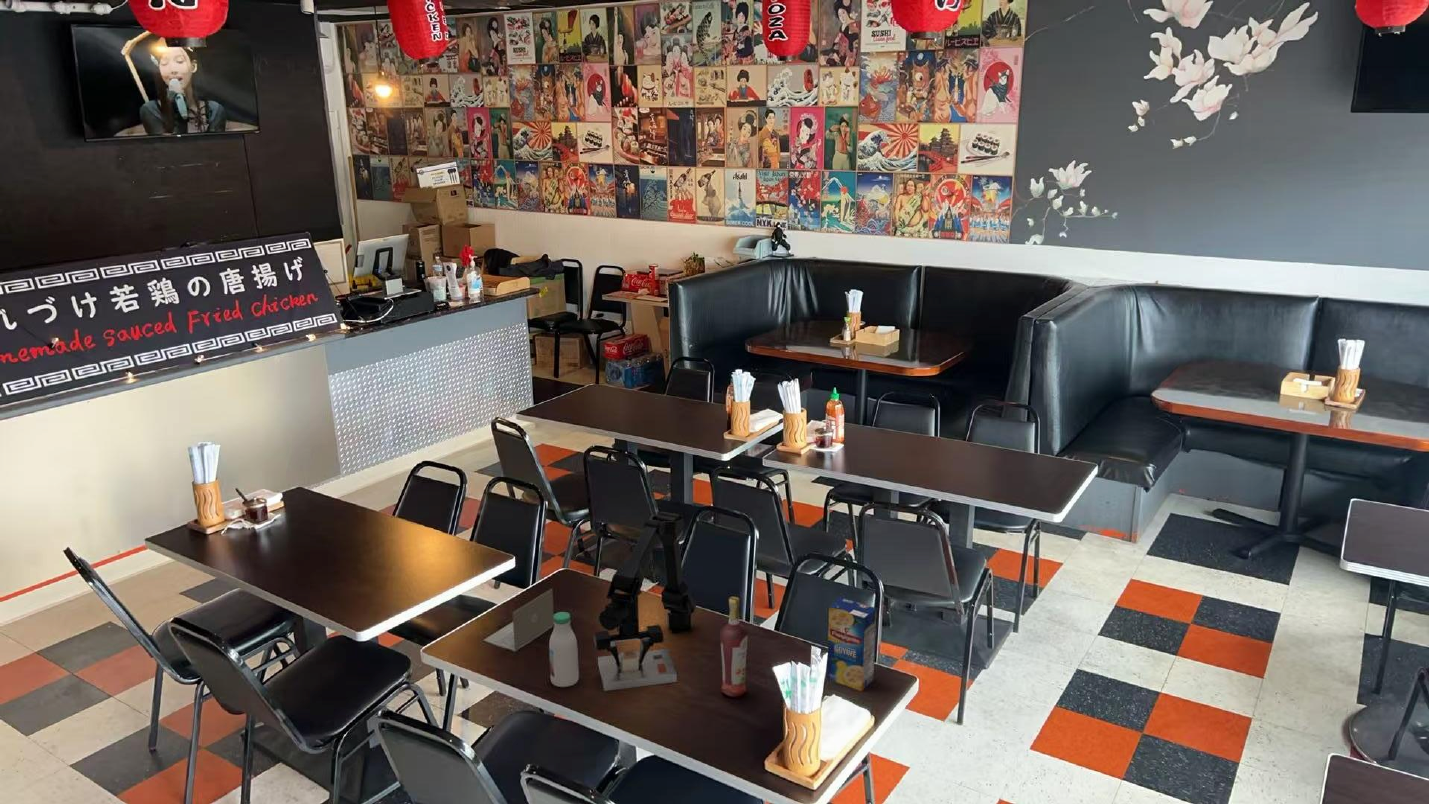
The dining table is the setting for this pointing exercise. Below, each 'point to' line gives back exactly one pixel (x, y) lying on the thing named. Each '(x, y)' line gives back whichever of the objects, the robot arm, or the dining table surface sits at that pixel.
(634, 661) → the plug
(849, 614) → the beverage box
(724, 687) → the liquor
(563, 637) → the milk bottle
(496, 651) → the dining table surface
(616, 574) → the robot arm
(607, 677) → the switch plate
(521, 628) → the laptop
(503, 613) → the dining table surface
